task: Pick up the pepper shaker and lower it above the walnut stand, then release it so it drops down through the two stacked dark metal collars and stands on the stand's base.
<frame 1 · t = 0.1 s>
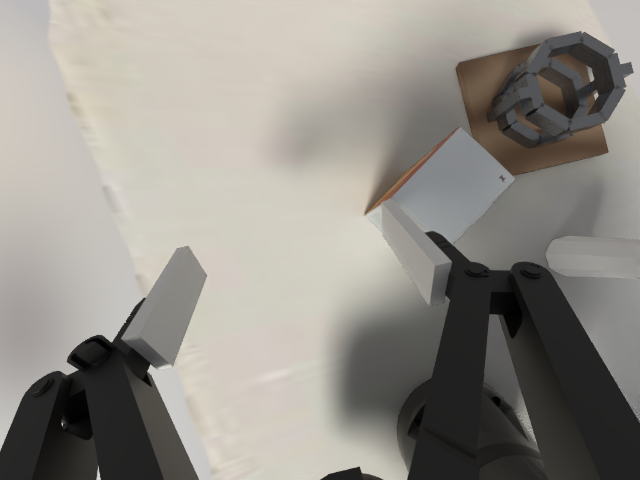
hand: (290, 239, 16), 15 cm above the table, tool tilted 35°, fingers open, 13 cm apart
collar frame: (553, 95, 28), on the collar base, point 4 cm above the table
small box: (399, 210, 32), on the table
collar base: (527, 111, 32), on the table
pepper shaker: (562, 255, 32), on the table
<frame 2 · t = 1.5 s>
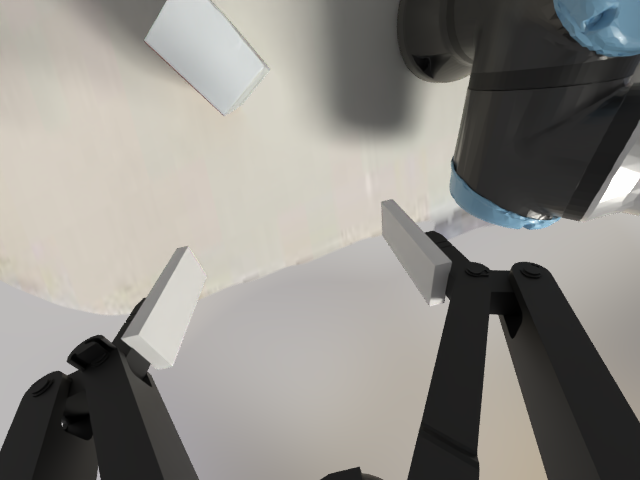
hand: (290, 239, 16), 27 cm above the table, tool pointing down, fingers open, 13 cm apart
small box: (232, 62, 31), on the table
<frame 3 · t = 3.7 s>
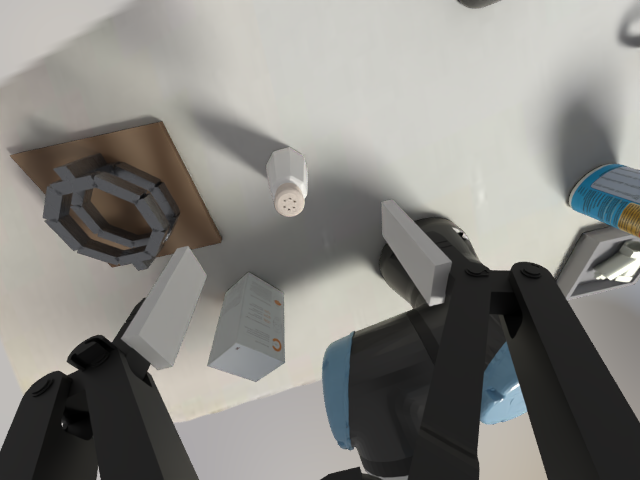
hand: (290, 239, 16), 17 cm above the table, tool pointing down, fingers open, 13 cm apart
pipe fitting: (607, 257, 49), point 1 cm above the table, touching parts tray
collar frame: (120, 215, 27), on the collar base, point 4 cm above the table
parts tray: (602, 256, 49), on the table
small box: (255, 291, 42), on the table
beverage bottle: (590, 187, 39), on the table
collar base: (135, 202, 30), on the table
pepper shaker: (287, 168, 31), on the table
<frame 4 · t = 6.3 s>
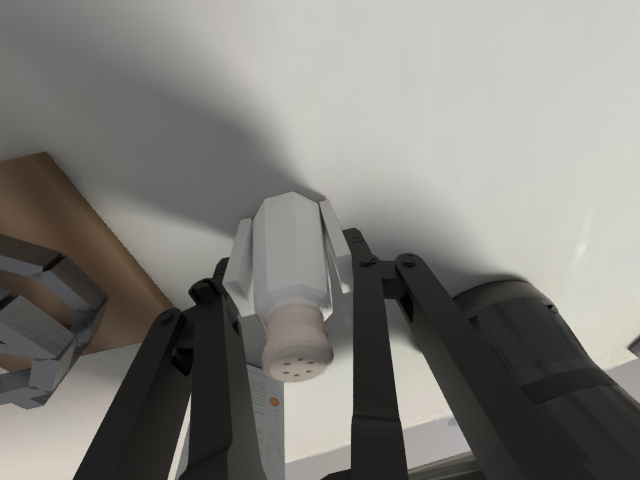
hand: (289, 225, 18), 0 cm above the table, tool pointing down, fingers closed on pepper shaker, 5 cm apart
small box: (243, 376, 29), on the table
collar base: (29, 283, 18), on the table
pepper shaker: (289, 222, 18), on the table, touching gripper
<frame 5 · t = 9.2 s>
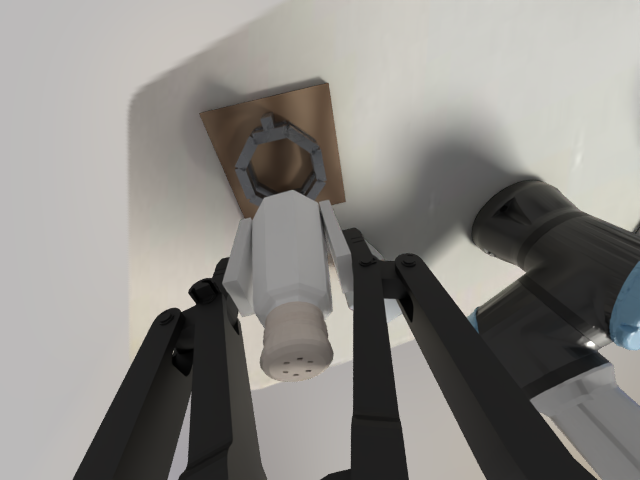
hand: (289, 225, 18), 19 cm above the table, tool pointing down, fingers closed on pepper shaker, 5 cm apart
collar frame: (282, 169, 31), on the collar base, point 4 cm above the table
small box: (357, 253, 45), on the table
collar base: (282, 161, 34), on the table
pepper shaker: (289, 221, 18), point 19 cm above the table, touching gripper
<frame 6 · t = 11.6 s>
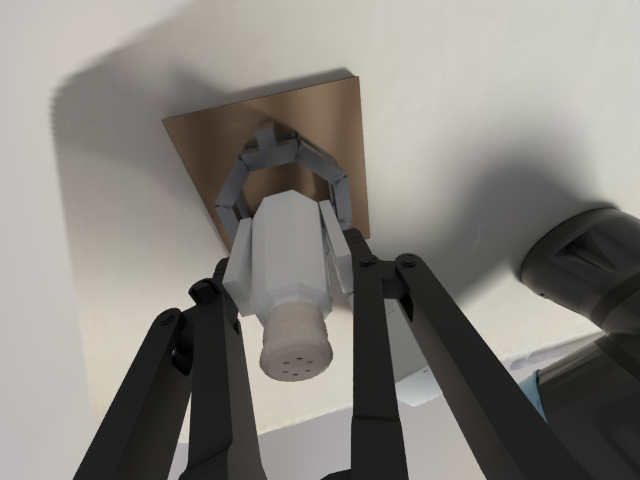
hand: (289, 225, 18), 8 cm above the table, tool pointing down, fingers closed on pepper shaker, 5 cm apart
collar frame: (287, 201, 21), on the collar base, point 4 cm above the table
small box: (378, 295, 36), on the table
collar base: (286, 187, 24), on the table
pepper shaker: (288, 221, 18), point 7 cm above the table, touching gripper
when the fingers open (8 cm above the table, at t = 12.4 s): pepper shaker drops 6 cm, resting on collar base.
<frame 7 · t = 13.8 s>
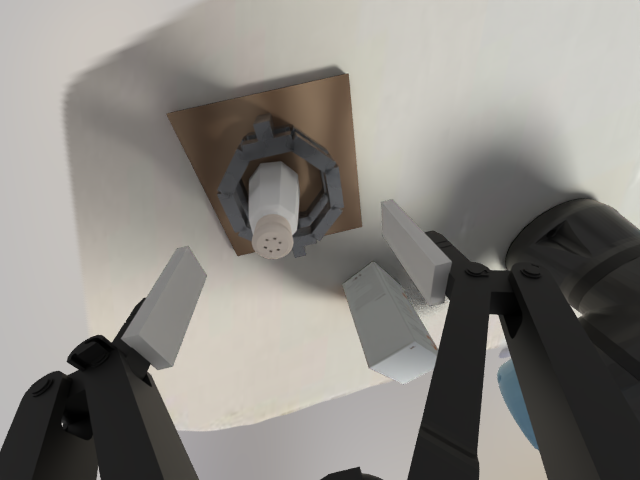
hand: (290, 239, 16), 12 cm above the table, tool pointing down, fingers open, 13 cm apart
collar frame: (283, 190, 23), on the collar base, point 4 cm above the table
small box: (371, 283, 38), on the table
collar base: (282, 178, 26), on the table
pepper shaker: (275, 184, 25), point 1 cm above the table, touching collar base
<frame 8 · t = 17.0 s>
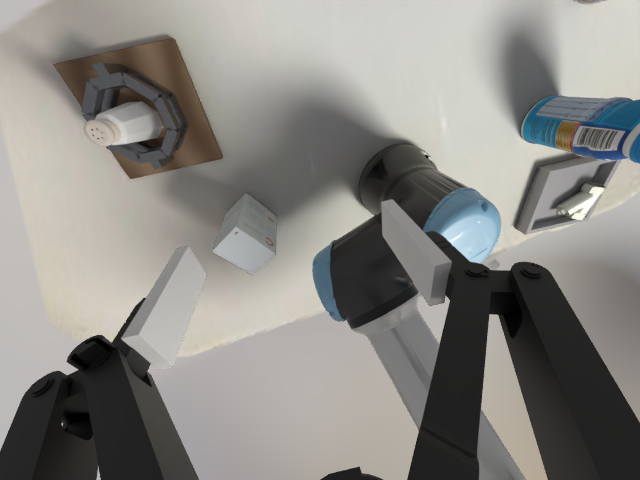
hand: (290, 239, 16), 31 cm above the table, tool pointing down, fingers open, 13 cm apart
pipe fitting: (569, 197, 56), point 1 cm above the table, touching parts tray
collar frame: (140, 119, 34), on the collar base, point 4 cm above the table
parts tray: (557, 192, 56), on the table
small box: (252, 214, 48), on the table
beverage bottle: (539, 119, 46), on the table
collar base: (151, 116, 37), on the table
pepper shaker: (144, 120, 36), point 1 cm above the table, touching collar base
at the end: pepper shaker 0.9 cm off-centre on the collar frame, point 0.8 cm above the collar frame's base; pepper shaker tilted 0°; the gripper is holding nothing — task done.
